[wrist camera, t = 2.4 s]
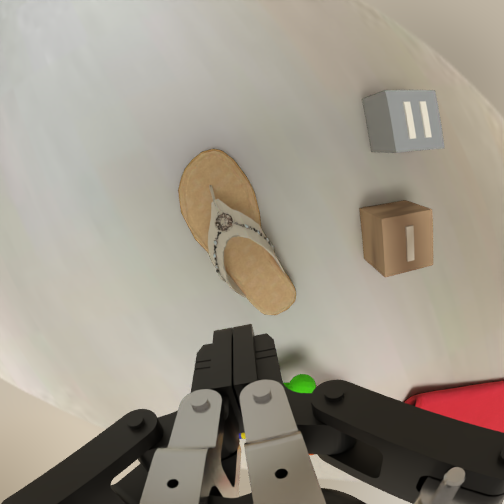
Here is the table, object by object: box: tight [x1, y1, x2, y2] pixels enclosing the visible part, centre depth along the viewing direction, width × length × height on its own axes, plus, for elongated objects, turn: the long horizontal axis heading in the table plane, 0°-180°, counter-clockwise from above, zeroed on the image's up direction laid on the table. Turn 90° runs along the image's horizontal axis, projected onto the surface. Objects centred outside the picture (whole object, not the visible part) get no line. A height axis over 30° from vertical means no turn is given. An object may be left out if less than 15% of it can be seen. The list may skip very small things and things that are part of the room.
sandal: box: [178, 149, 296, 315], centre depth 26 cm, size 7×16×5 cm, turn 33°
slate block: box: [362, 90, 444, 153], centre depth 23 cm, size 5×5×5 cm
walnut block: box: [359, 200, 433, 277], centre depth 26 cm, size 5×5×5 cm
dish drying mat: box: [404, 381, 504, 433], centre depth 38 cm, size 16×41×4 cm, turn 78°
